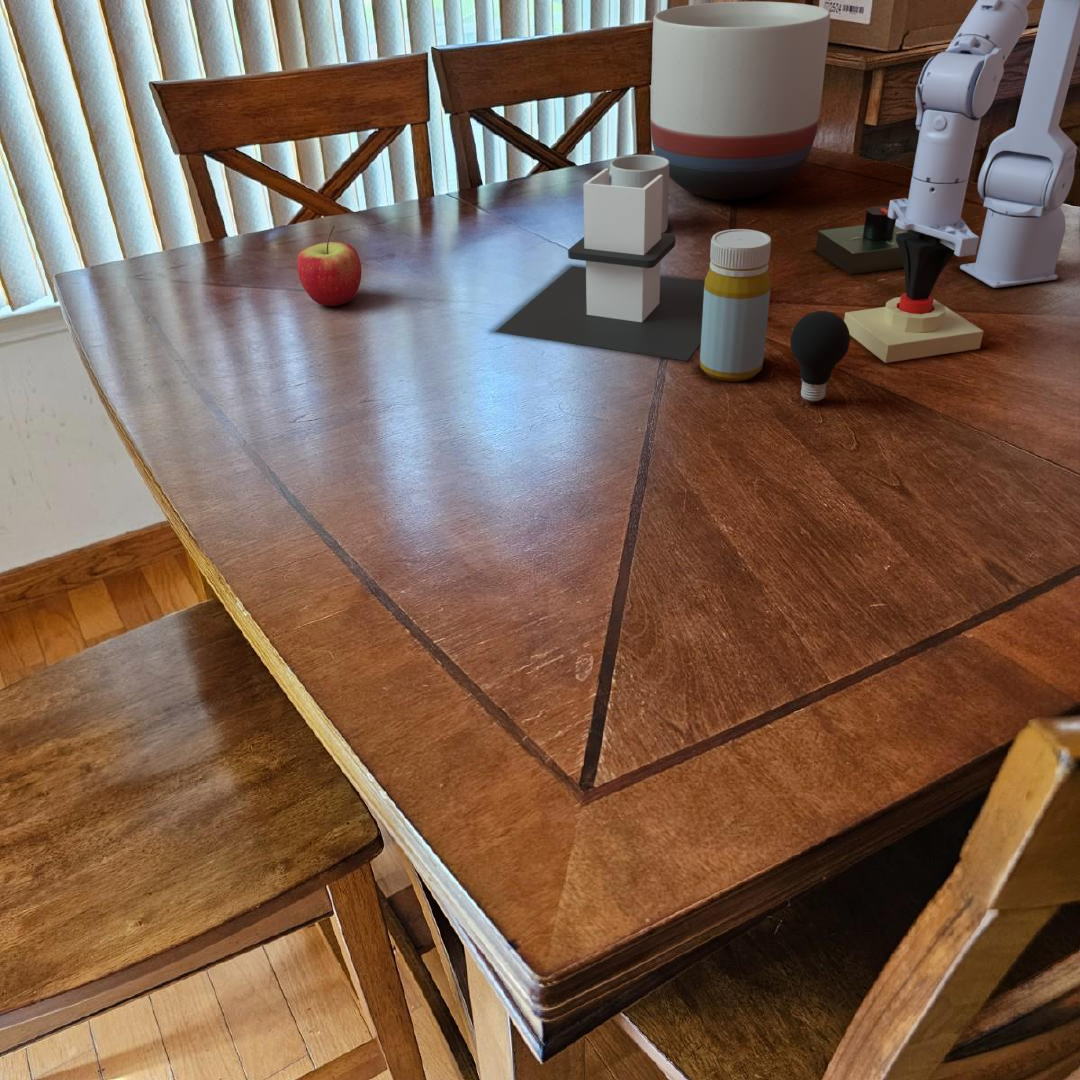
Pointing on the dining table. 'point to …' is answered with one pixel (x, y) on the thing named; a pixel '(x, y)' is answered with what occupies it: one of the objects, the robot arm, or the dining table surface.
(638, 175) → the mug
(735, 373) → the bottle
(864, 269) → the dimmer panel
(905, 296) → the switch button
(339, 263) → the apple
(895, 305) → the switch block
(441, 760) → the dining table surface
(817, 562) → the dining table surface
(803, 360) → the light bulb
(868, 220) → the dimmer knob
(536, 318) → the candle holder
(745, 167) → the planter
